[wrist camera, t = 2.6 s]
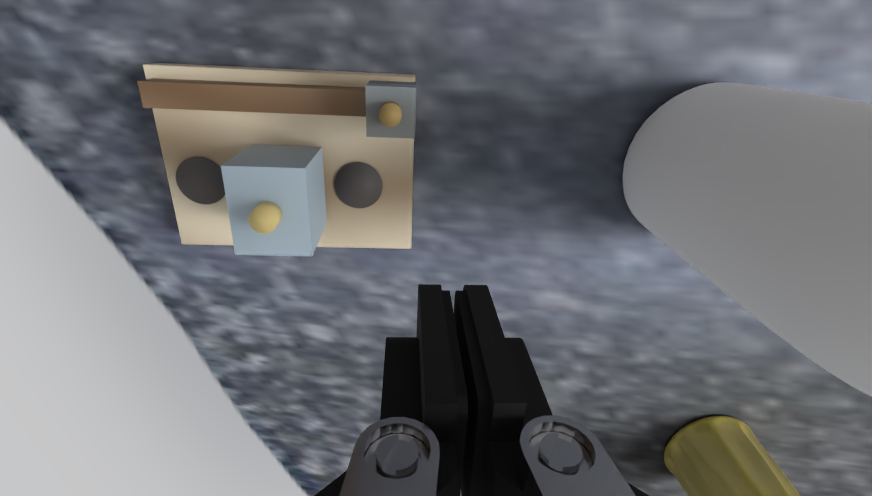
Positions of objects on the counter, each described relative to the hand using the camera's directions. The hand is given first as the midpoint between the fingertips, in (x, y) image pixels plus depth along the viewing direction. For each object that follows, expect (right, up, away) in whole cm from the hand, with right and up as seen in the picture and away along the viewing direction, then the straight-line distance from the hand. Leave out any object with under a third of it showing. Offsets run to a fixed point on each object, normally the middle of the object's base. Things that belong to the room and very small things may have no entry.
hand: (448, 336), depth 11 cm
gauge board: (-7, +6, +10) cm, 14 cm away
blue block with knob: (-7, +5, +9) cm, 12 cm away
